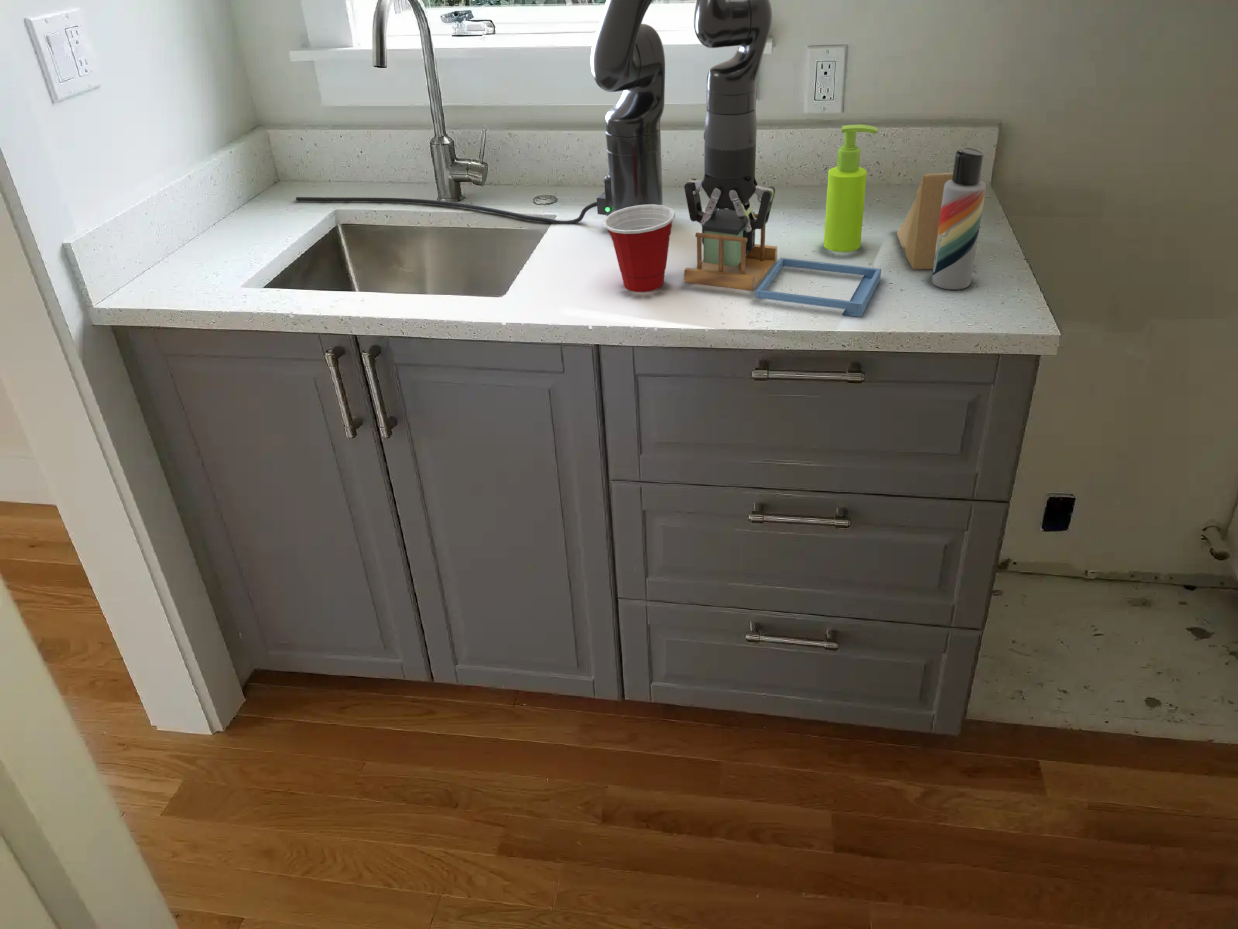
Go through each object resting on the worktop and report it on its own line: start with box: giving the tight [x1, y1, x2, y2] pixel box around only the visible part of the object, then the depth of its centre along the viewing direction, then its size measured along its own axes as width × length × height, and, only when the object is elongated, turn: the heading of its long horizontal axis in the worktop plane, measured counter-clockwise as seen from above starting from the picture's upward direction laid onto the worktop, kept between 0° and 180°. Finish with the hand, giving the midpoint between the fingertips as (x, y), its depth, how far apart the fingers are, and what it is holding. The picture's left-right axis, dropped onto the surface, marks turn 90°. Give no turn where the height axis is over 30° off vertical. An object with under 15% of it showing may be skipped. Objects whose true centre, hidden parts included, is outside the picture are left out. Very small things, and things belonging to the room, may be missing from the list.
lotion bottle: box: [931, 147, 987, 291], centre depth 142 cm, size 6×6×20 cm
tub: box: [701, 208, 756, 267], centre depth 151 cm, size 6×8×6 cm
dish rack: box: [683, 213, 778, 292], centre depth 152 cm, size 11×13×9 cm
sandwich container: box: [896, 172, 982, 270], centre depth 154 cm, size 9×15×15 cm, turn 176°
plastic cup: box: [602, 204, 676, 293], centre depth 148 cm, size 11×11×12 cm
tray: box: [755, 257, 882, 318], centre depth 147 cm, size 16×13×2 cm
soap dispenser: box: [823, 124, 879, 253], centre depth 154 cm, size 6×7×20 cm
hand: (727, 249), depth 152 cm, fingers closed on tub, 5 cm apart
